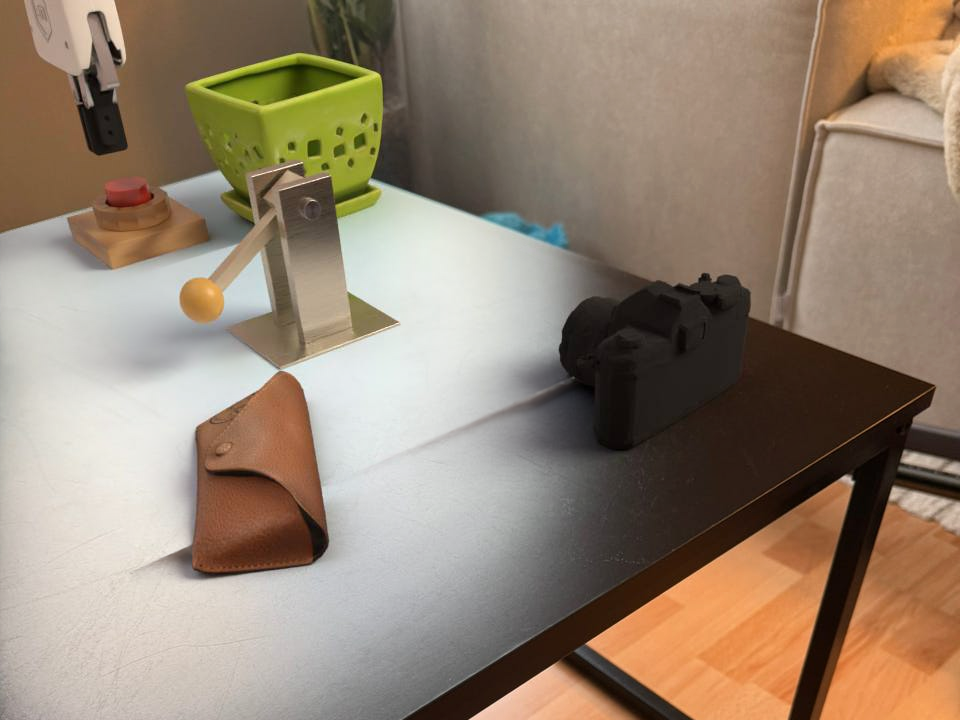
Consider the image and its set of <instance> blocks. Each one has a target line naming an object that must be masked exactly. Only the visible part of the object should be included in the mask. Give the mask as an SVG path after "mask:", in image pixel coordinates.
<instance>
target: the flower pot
mask: <svg viewBox="0 0 960 720" xmlns="http://www.w3.org/2000/svg"><path fill="white" fill-rule="evenodd" d="M383 91H384V90H383V80H382V76H381V75H380V74H379V72H377V71H373V70H371V69H367V68H365V67H361V66H358V65H355V64H351V63H347V62H344V61H340V60H337V59H332V58H328V57H324V56H319V55H314V54H309V53H303V52H298V53H297V52H296V53H293V54H289V55H288V54H287V55H284V56H280V57H276V58H273V59H269V60H264V61H261V62H257V63H254V64H250V65H246V66H243V67H239V68H236V69H235V68H234V69H231V70H228V71H226V72H222V73H217V74H215V75H211V76H207V77H204V78H201V79H198V80H195V81H191V82H189V83H187V84H186V85H184V92H185V96H186V99H187V103H188V106H189V109H190V112H191V115H192V118H193V120H194V124H195V126H196V128H197V131H198V134H199V136H200V138H201V140H202V142H203V144H204V146H205V148H206V150H207V152H208V154H209V155H210V157H211V159H212V161H213V162H214V164H215V166H216V167H217V168H218V170H219V171H220V173H221V174H222V176H223V177H224V178H225V180H226V181H227V182H228V183H229V185H230V186H231V187H232V188H233V189H231V190H227V191H225V192H222V193H220V194H219V198H220V199H221V201H222V202H223V204H225V206H227V207H228V208H229V209H230V210H231V211H232V212H234V213H235V214H237V215H238V216H240V217H242V218H243V219H245V220H247V221H250V222H251V223H253V224H255V222H254V217H253V212H252V207H251V202H250V196H249V191H248V186H247V181H246V176H245V174H246V173H248V172H252V171H256V170H259V169H263V168H266V167H270V166H274V165H277V164H281V163H284V162H288V161H292V160H295V159H297V160H299V161H302V162H303V165H304V172H305V177H309V176H312V175H316V174H319V173H323V172H325V173H327V174H330V175H331V177H332V185H333V192H334V199H335V206H336V214H337V220H338V219H340V218H343V217H346V216H349V215H352V214H355V213H357V212H360V211H363V210H366V209H369V208H371V207H373V206H375V205H376V203H378V201H379V199H380V198H381V196H382V189H381V188H380V187H377V186H374V185H372V184H369V182H370V180H371V178H372V175H373V173H374V169H375V166H376V162H377V159H378V156H379V150H380V146H381V137H382V125H383V124H382V123H383V114H384V112H383V111H384V99H383V98H384V96H383ZM294 96H295V97H294ZM229 144H230V146H229Z"/></svg>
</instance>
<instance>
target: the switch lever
mask: <svg viewBox="0 0 960 720" xmlns="http://www.w3.org/2000/svg"><path fill="white" fill-rule="evenodd" d="M302 178H303V177H301V176H299V175H297V174H295V173H293V172H291V171H289V170H287V171H286V172H285V173H284V174H283V176H282V177H281V178H280V179H279V180H278V181H277V182H276V183H275V185H274V186H277V185H281V184H284V183H288V182H291V181H295V180H298V179H302ZM274 186H273V187H274ZM263 199H264V200H265V201H266V202H267V204H268V205H269V206H270V207H271V208H270V210H269V211H268V212H267V213H266V214H265V215H264V216H263V217H262V218H261V220H260V221H259V222H258V223H257V224H256V225H255V224H254V226H253V227H252V229H250V231H249V232H248V233H247V234H246V235H245V236H244V237H243V238H242V240H241V241H240V242H239V243H238V244H237V245H236V246H235V248H234V249H233V250H232V251H231V252H230V253H229V254H228V255H227V256H226V258H225V259H224V260H223V261H222V262H221V263H220V264H219V265H218V266H217V268H216V269H215V270H214V271H213V272H212V273H211V275H210V276H209V277H208V278H206V277H195V278H191V279H189V280H187V281H186V282H185V283H184V285H183V286H182V287H181V289H180V292H179V297H178V300H179V306H180V308H181V311H182V312H183V314H184V315H185V317H187V318H188V319H190V320H191V321H193V322H195V323H197V324H198V323H199V324H210V323H212V322H214V321H216V320H218V318H219V317H220V316H221V315H222V313H223V311H224V308H225V297H224V292H225V291H226V290H227V288H228V287H229V286H230V285H231V284H232V283H233V282H234V281H235V279H236V278H237V277H238V276H240V274H241V273H242V271H244V270H245V268H246V267H247V266H248V265H249V264H250V263H251V261H252V260H253V259H254V258H255V257H256V256H257V255H258V254H259V253H260V250H261V249H262V248H263V247H264V246H265V244H266V243H267V242H268V241H269V240H270V239H271V238H272V237H273V235H274V234H275V233H276V232H277V231H278V230H279V226H278V221H277V215H276V210H275V204H274V198H273V193H272V188H271V189H270V190H269V191H268V192H267V194H266V195H265V196H264V197H263Z"/></svg>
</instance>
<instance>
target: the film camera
mask: <svg viewBox="0 0 960 720" xmlns="http://www.w3.org/2000/svg"><path fill="white" fill-rule="evenodd" d="M751 294H752V292H751V291H750V290H749V288H746V287H745V286H743V285H742V283H741V281H740V279H739V278H738V276H737V275H732V274H721V275H719V276H716V280H715V281H713V278H712V277H711V274H710V273H709V272H703V273H701V274H700V277H698V278H697V282H693V283H691V284H689V285H687V284H683V283H682V282H678V283H677V284H676V285H673V286H672V285H671V284H670V283H668V282H666V281H664V280H661V279H660V280H659V279H656V280H655V281H653V282H651V283H649V284H647V285H645V286H644V287H641V288H639V289H638V290H636V291H635V292H634V293H632V294H630V295H629V296H627V297H626V298H625V299H623V300H619V299H616V298H614V297H602V296H597V295H593V296H590V297H588V298H585V299H584V300H582V301H580V303H579V304H577V306H576V307H575V308H574V309H573V310H571V312H570V313H569V315H568V316H567V318H566V320H565V323H564V325H563V327H562V329H561V341H560V343H559V345H558V353H559V362H560V364H561V366H562V368H563V369H564V370H565V372H566V373H568V374H570V375H571V376H572V377H573V378H574V379H575V380H576V381H578V383H582V384H584V385H587V386H588V387H593V388H594V413H593V425H592V431H593V434H594V438H595V440H596V442H597V443H599V444H601V445H602V446H605V447H608V448H609V449H614V450H626V449H627V450H629V449H632V448H634V447H637V445H639V444H640V443H643V442H644V441H647V440H648V439H651V438H652V437H654V436H656V435H657V434H659V433H660V432H663V430H665V429H666V428H669V427H670V426H672V425H674V424H675V423H677V422H678V421H680V420H681V419H683V418H685V417H687V416H688V415H690V414H691V413H693V412H694V411H696V410H698V409H700V408H701V407H702V406H704V405H705V404H708V403H709V402H710V401H712V400H713V399H715V398H717V397H718V396H720V395H721V394H722V393H724V392H725V391H727V390H728V389H730V388H731V387H733V385H735V384H736V383H737V382H738V381H739V379H740V377H741V375H742V369H743V368H742V363H743V358H744V352H745V346H746V345H745V344H746V338H747V331H748V325H749V317H750V316H749V314H750V312H751V308H752V298H751V297H752V296H751Z"/></svg>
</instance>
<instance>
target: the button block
mask: <svg viewBox="0 0 960 720" xmlns="http://www.w3.org/2000/svg"><path fill="white" fill-rule="evenodd" d="M148 186H149V190H150V194H151V198H152V200H150V201H149V202H147V203H145V204H141V205H138V206H134V207H124V208H117V207H110V206H109V203H108V199H107V196H106V192H104V193H102V194H101V195H99V196H97V197H95V198H94V200H93V202H92V204H91V208H92V210H90V211H86V212H82V213H78V214H75V215H71V216H68V217H66V221H67V224H68V227H69V231H70V234H71V236H72V239H73V241H75V242H76V243H77V244H78V245H80V246H81V247H82V248H83V249H85V250H86V251H87V252H89V253H90V254H92V255H93V256H94V257H95V258H97V259H98V260H99V261H100V262H102V263H103V264H105V266H107V267H108V268H110V270H118V269H121V268H124V267H127V266H130V265H133V264H137V263H140V262H143V261H147V260H150V259H153V258H157V257H160V256H164V255H166V254H170V253H173V252H176V251H179V250H182V249H183V250H184V249H185V248H190V247H193V246H196V245H199V244H203V243H205V242H209V241H210V236H209V232H208V227H207V223H206V219H205V217H204V216H202V215H200V214H198V213H197V212H195V211H194V210H192V209H190V208H189V207H187V206H185V205H183V204H182V203H180V202H178V200H176V199H173V198H172V197H170V196H169V195H168V192H167V191H166V190H164V189H162V188H161V187H158V186H152V185H148Z"/></svg>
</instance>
